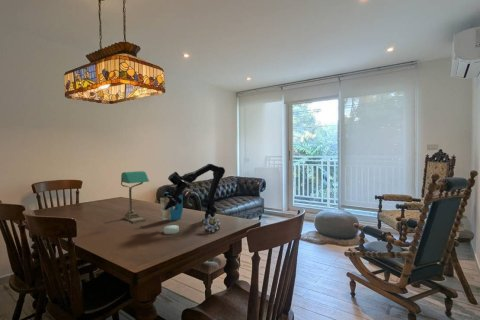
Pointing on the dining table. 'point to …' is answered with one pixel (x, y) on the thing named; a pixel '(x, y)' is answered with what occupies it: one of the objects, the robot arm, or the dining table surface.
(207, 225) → the passion flower
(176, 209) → the block
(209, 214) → the robot arm
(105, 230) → the dining table surface
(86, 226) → the dining table surface
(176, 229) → the plinth
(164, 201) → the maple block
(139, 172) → the banker's lamp
